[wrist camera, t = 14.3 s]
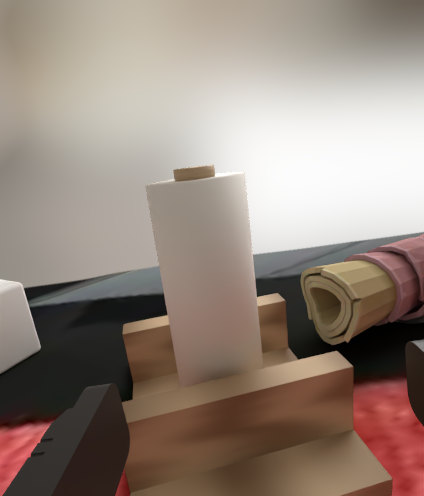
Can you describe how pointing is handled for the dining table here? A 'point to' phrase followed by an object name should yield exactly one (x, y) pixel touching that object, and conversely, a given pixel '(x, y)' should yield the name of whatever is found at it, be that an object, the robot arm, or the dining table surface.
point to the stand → (245, 422)
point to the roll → (207, 272)
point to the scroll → (367, 290)
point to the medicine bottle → (15, 326)
